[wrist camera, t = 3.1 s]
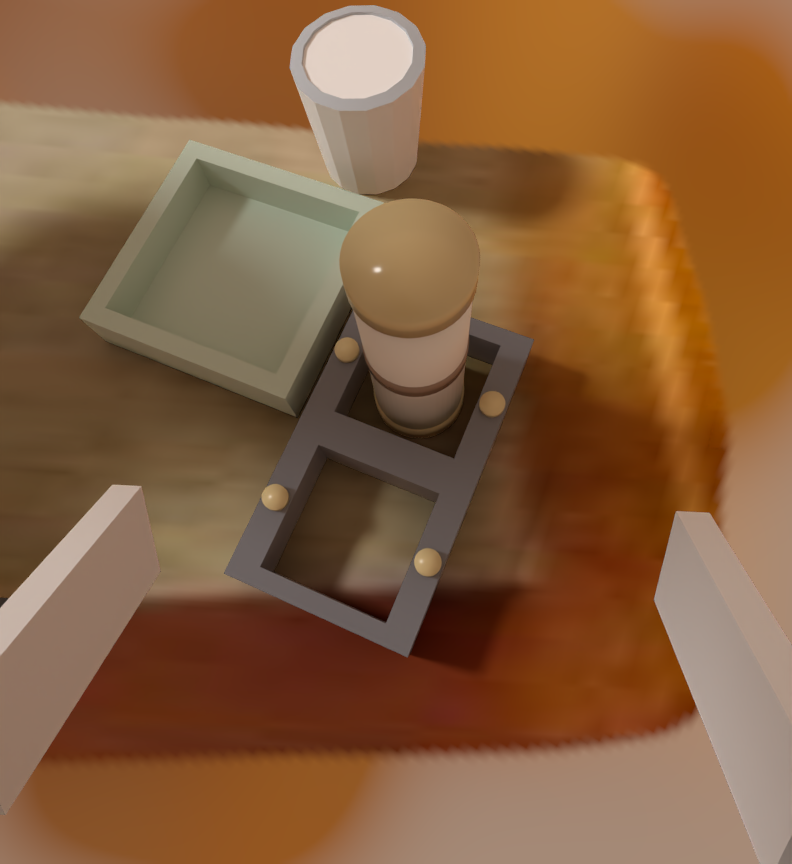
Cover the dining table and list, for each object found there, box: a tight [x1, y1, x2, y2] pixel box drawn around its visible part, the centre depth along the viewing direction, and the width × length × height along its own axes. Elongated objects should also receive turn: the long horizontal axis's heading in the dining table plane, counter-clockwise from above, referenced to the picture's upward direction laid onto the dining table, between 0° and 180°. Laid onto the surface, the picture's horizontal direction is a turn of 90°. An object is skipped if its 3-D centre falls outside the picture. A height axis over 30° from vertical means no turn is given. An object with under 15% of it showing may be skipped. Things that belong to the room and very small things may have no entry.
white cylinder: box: [290, 5, 426, 194], centre depth 34 cm, size 7×7×7 cm
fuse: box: [339, 198, 480, 438], centre depth 27 cm, size 5×5×13 cm
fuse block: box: [224, 311, 534, 657], centre depth 30 cm, size 9×16×3 cm, turn 157°
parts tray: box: [79, 140, 384, 417], centre depth 34 cm, size 12×12×3 cm
